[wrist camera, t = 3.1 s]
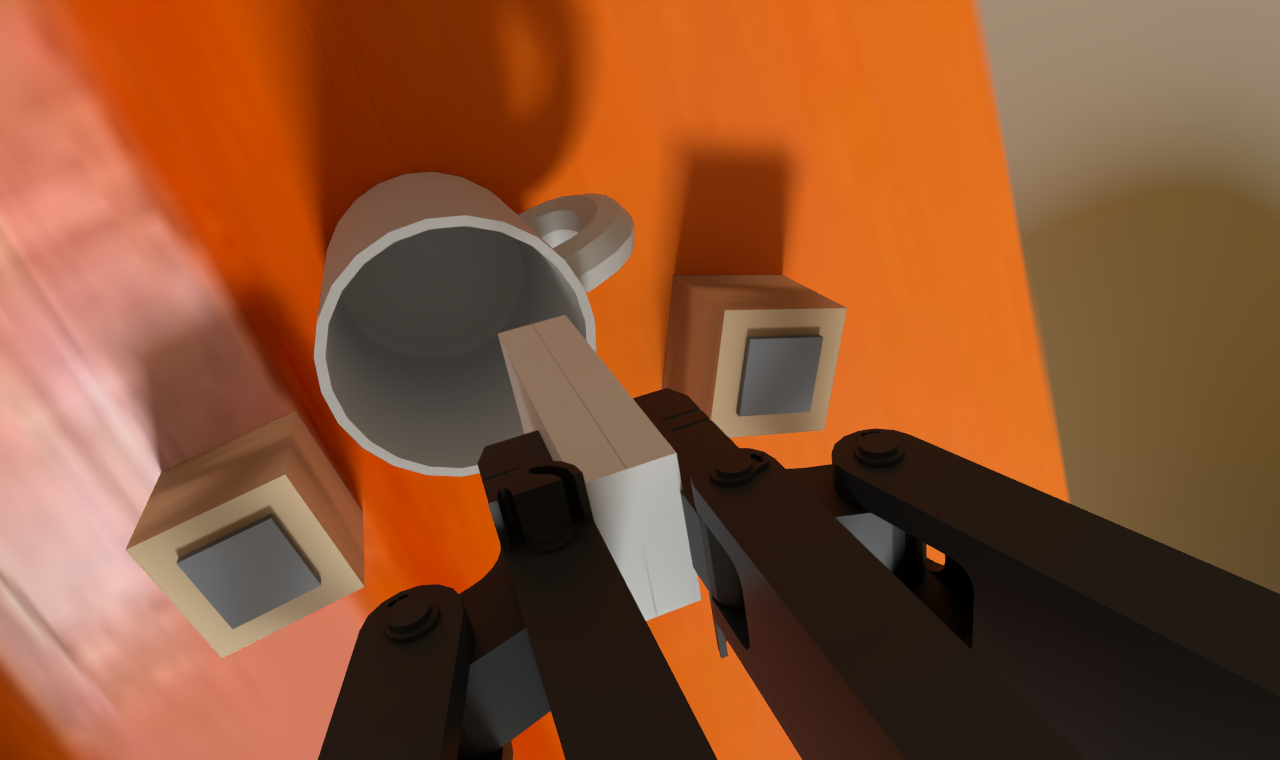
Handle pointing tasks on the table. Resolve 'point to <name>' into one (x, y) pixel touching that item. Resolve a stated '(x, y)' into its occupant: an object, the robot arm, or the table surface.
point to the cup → (449, 310)
